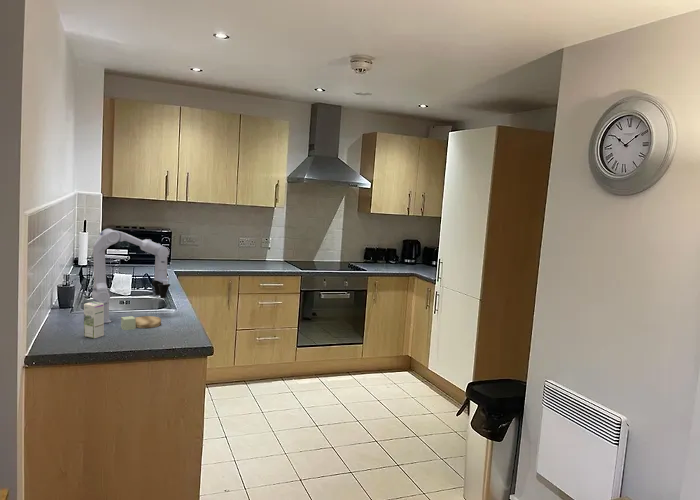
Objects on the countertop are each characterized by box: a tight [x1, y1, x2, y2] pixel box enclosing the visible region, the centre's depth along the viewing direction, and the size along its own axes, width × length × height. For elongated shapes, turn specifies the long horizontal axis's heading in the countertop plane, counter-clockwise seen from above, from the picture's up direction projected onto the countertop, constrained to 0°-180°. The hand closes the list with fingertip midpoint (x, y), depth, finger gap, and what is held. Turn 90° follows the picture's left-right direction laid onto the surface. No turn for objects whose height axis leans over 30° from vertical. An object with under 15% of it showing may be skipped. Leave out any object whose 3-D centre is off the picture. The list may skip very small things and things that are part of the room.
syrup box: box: [83, 301, 105, 339], centre depth 229 cm, size 6×6×14 cm
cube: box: [120, 315, 137, 331], centre depth 245 cm, size 5×5×5 cm
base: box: [135, 315, 162, 329], centre depth 253 cm, size 13×13×2 cm
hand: (160, 296), depth 269 cm, fingers open, 7 cm apart
